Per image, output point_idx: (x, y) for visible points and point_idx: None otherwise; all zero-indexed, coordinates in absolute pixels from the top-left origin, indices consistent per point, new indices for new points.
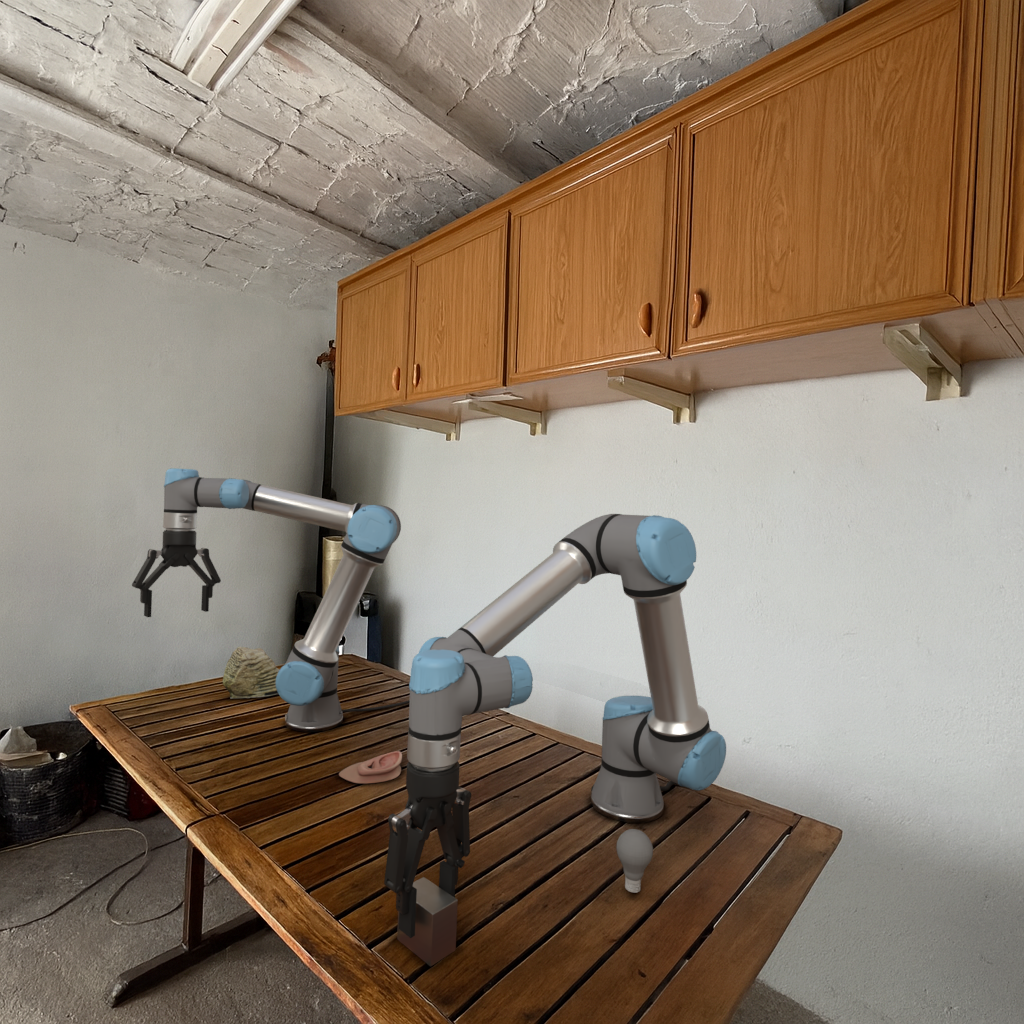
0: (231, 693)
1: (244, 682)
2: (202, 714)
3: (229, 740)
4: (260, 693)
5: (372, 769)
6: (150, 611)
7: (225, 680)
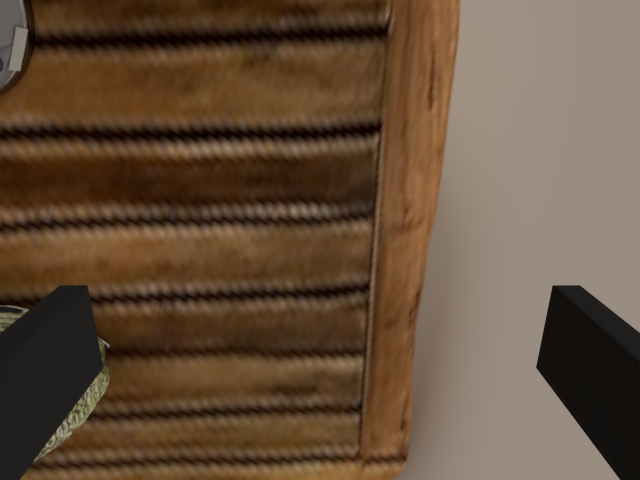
0: (101, 350)
1: None
2: (203, 278)
3: (207, 42)
4: None
5: None
6: (587, 310)
7: (100, 378)
